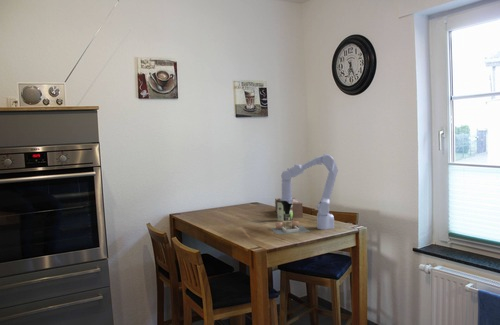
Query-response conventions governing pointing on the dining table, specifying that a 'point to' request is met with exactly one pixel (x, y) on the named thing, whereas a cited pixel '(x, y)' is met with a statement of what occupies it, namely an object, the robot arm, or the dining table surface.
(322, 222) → the robot arm
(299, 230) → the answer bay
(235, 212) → the dining table surface
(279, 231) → the slate board
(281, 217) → the coffee can
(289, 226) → the maple cube
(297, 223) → the pink rounded cylinder
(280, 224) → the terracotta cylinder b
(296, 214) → the tissue box cover
